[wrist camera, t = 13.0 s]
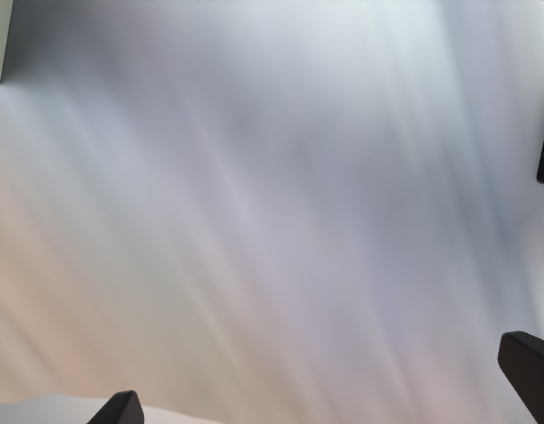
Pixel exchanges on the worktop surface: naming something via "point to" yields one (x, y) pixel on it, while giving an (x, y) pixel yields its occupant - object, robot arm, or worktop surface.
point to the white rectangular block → (4, 27)
